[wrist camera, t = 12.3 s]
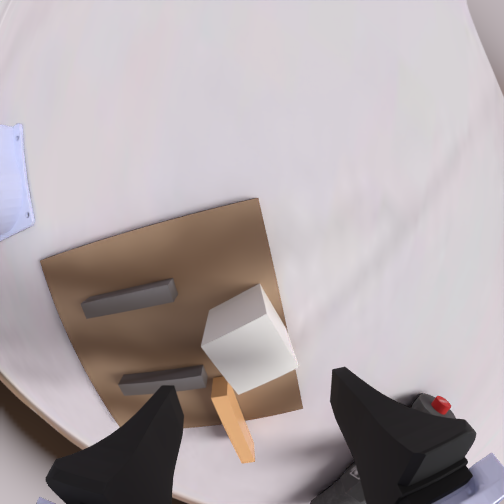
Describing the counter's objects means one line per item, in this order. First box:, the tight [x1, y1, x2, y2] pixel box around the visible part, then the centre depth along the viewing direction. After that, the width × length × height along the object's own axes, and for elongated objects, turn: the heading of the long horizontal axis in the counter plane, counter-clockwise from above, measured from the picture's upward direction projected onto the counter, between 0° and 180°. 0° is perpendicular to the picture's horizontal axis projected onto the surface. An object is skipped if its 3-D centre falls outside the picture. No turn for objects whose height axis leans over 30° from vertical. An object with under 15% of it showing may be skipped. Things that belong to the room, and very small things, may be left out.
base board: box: [40, 198, 303, 428], centre depth 20 cm, size 18×18×2 cm
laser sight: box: [310, 394, 456, 504], centre depth 21 cm, size 10×22×10 cm, turn 154°
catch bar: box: [211, 376, 255, 463], centre depth 20 cm, size 9×1×2 cm, turn 13°
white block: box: [201, 283, 299, 395], centre depth 17 cm, size 4×4×5 cm
